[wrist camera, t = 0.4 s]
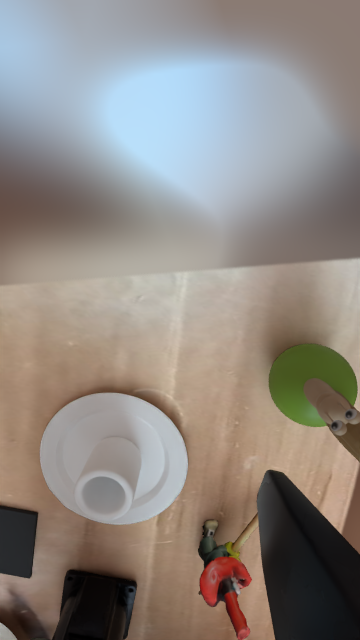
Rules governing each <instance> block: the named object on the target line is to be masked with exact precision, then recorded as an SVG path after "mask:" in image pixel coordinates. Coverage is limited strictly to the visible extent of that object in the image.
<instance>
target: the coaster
mask: <svg viewBox="0 0 360 640" xmlns="http://www.w3.org/2000/svg"><path fill="white" fill-rule="evenodd" d="M37 516H38V513H37V512H31V511H26V510H21V509H15V508H10V507H4V506H0V573H3V574H8V575H13V576H19V577H24V578H30V577H31V574H32V564H33V554H34V545H35V535H36V525H37Z"/></svg>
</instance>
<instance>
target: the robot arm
mask: <svg viewBox="0 0 360 640" xmlns="http://www.w3.org/2000/svg"><path fill="white" fill-rule="evenodd" d="M257 509H258V521H259V533H260V545H261V557H262V567H263V573H264V579H265V585H266V590H267V596H268V602H269V607H270V613H271V618H272V624H273V629H274V635H275V640H360V554H359V553H358V552H357V551H356V550H355V549H354V548H353V547H352V546H351V545H350V544H349V542H348V541H347V540H346V539H345V538H344V537H343V536H342V535H341V534H340V533H339V532H338V531H337V530H336V529H335V528H334V526H333V525H332V524H331V523H330V522H329V521H328V520H327V519H326V518H325V517H324V516H323V515H322V514H321V513H320V511H319V510H318V509H317V508H316V507H315V506H314V505H313V504H312V503H311V502H310V501H309V500H308V499H307V498H306V497H305V495H304V494H303V493H302V492H301V491H300V490H299V489H298V488H297V487H296V486H295V485H294V484H293V483H292V482H291V481H290V479H289V478H288V477H287V476H286V475H285V474H284V473H282V472H278V471H274V470H267V471H266V473H265V475H264V478H263V481H262V483H261V486H260V489H259V492H258V495H257ZM136 589H137V584H136V583H135V582H134V581H129V580H124V579H119V578H113V577H108V576H102V575H97V574H92V573H86V572H81V571H75V570H69V571H68V572H67V574H66V576H65V581H64V588H63V596H62V603H61V611H60V618H59V622H58V625H57V627H56V630H55V633H54V636H53V638H52V640H124V639H126V638H127V635H128V630H129V625H130V620H131V615H132V610H133V604H134V599H135V594H136Z"/></svg>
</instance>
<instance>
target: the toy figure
mask: <svg viewBox="0 0 360 640" xmlns="http://www.w3.org/2000/svg"><path fill="white" fill-rule="evenodd" d="M258 525H259V521H258V512H257V514H256V515H255V517H254V518H253V519H252V521H251V522H250V523H249V524H248V525H247V527H246V528H245V530H244V531H243V532H242V533H241V535H240V536H239V537H238V539H237V540H236V541H235V542H234V543H232V542H228V543H226V544H225V545H221V546H218V547H217V545H216V542H215V541H214V539H213V535H214V532H215V530H216V529H217V526H218V521H217V520H208V521H207V522H205V523H204V525H203V526H202V527H203V530H204V532H203V534H202V535H204V537H203V539H202V540H201V542H200V546H199V547H200V548H199V549H198V553H199V556H200V557H201V558H202V560H203V561H204V570H203V572H202V574H201V577H200V591H199V595H200V594H202V596H203V598H204V600H205V601H206V603H207V604H208V605H209V606H211V607H215V606H216V605H217V604H218V603H219V602H220V601H224V602H225V603H226V610H227V613H228V615H229V617H230V619H231V622H232V624H233V626H234V629H235V632H236V636H237V638H238V640H243V639H245V638H246V637H247V636H248V635H249V633H250V629H249V628H248V626H247V622H246V618H245V617H244V615H243V613H242V611H241V610H240V608H239V604H238V601H237V598H238V595H239V594H240V593H241V592H240V589H242V588H244V587H246V586H248V585H249V584H250V582H251V580H252V578H251V577H250V575H249V573H248V571H247V569H246V567H245V566H244V564H243V563H241V560H240V559H239V558H238V557H239V554H240V552H239V550H240V548H241V547H242V545H244V543H245V542H246V540H247V539H248V538H249V537H250V535H251V534H252V533H253V531H254V530H255V529H256V527H257V526H258ZM243 579H244V580H243Z"/></svg>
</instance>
